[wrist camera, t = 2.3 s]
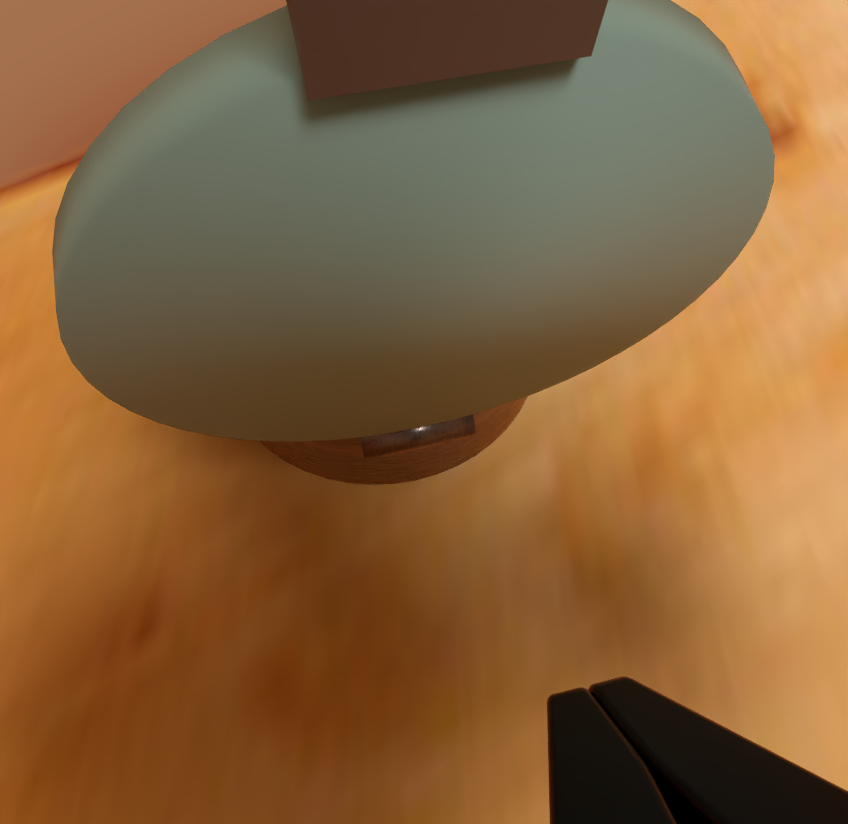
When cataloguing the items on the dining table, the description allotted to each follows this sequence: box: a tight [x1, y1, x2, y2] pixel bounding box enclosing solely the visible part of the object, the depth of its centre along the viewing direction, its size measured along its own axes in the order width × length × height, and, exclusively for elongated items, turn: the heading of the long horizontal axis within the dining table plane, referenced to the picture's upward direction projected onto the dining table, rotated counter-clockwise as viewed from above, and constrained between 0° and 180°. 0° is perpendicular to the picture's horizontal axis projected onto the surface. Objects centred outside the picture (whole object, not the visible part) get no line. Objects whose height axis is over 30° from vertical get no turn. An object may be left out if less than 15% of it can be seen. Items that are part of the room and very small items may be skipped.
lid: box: [52, 0, 775, 442], centre depth 11 cm, size 15×12×1 cm
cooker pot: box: [260, 396, 527, 484], centre depth 23 cm, size 12×15×5 cm
